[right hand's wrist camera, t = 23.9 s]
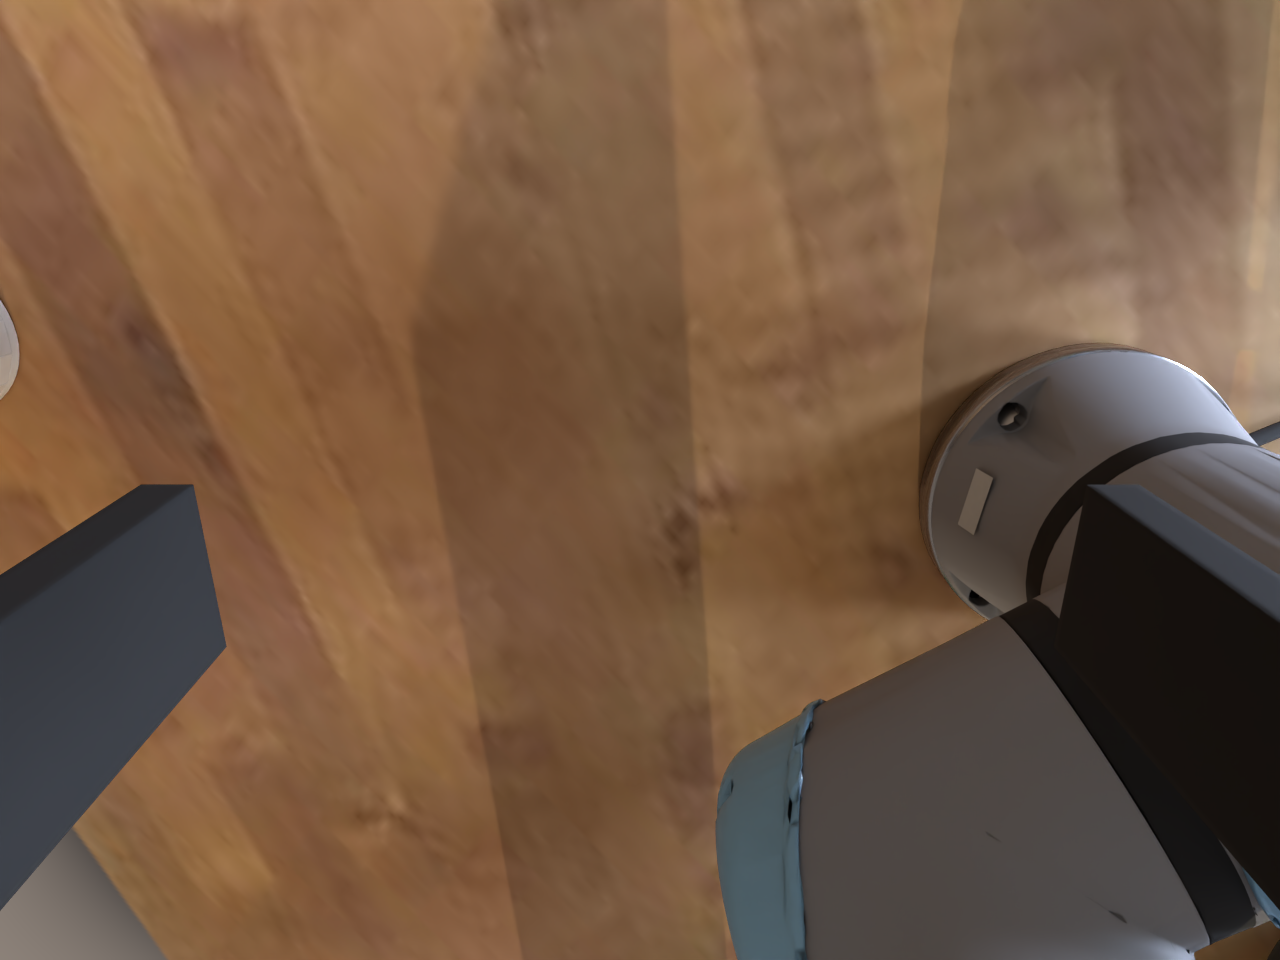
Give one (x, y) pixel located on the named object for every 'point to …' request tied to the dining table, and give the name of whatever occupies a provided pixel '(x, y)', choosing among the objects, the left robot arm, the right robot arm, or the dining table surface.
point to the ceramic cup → (7, 351)
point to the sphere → (1275, 952)
